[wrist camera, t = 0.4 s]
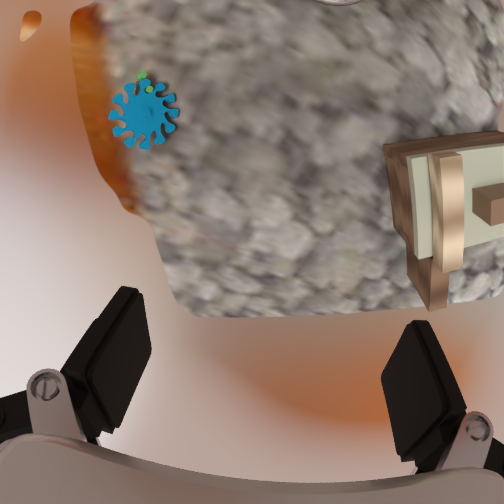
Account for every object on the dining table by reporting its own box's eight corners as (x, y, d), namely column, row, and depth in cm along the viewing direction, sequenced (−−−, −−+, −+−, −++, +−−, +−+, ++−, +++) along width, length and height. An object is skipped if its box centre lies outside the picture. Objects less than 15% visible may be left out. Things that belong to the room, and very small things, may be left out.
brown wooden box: (382, 144, 39) (411, 158, 29) (496, 130, 34) (536, 142, 25) (396, 277, 48) (416, 315, 39) (495, 250, 44) (524, 280, 34)
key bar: (427, 152, 28) (439, 158, 26) (448, 149, 28) (461, 154, 25) (433, 261, 34) (442, 273, 32) (451, 256, 34) (462, 268, 31)
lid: (406, 156, 31) (428, 167, 25) (530, 140, 26) (556, 150, 21) (414, 253, 36) (431, 278, 31) (528, 224, 32) (550, 241, 26)
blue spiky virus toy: (180, 147, 40) (111, 152, 34) (163, 148, 44) (101, 153, 38) (181, 72, 36) (112, 69, 30) (164, 80, 41) (102, 80, 34)
